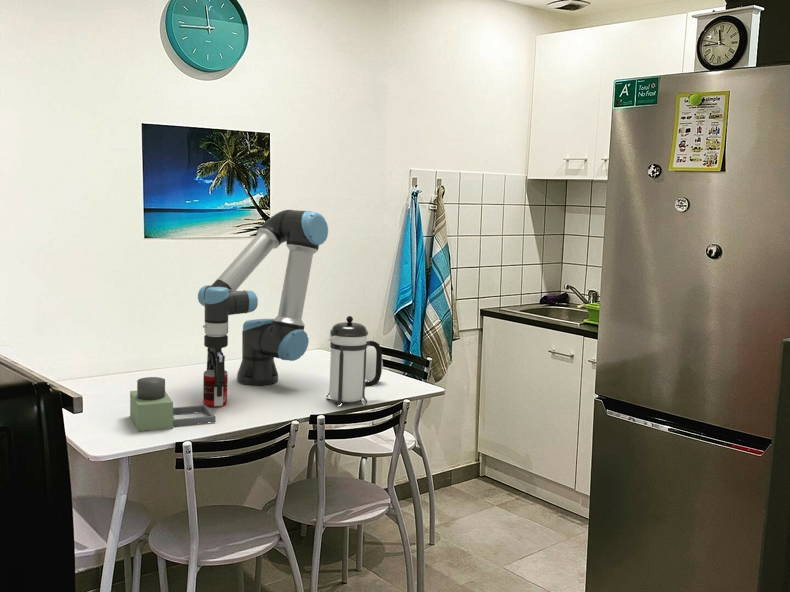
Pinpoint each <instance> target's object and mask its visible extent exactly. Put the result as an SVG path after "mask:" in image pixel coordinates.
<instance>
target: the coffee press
mask: <svg viewBox="0 0 790 592" xmlns="http://www.w3.org/2000/svg"><path fill="white" fill-rule="evenodd" d="M353 321H354V318H353V316H351V315H349V316H347V317H346V321H345V322H338V323H336V324H334V325H333V326H332V328H331V329H330V331H329V332H330V333H329V335H328V337H327V342H329V341H330V345H329V346H330V362H329V363H330V364H329V366H330V367H329V392H328V394H327V395H326V396H325V398H326V397H328V398H331V399H332V400H334V401H337V402H336V406H337V405H340V404H341V403H343V404H344V403H354V402H360V403H361V402H362V401H363V400H364V403H365V404H366V403H367V404H368V400H367V398H366V396H365V395H366V394H365V390H366V388H369V387H373V386H375V385H377V384H378V383H379V382H380V379H381V376H382V374H381V368H382V362H383V352H382V351H383V350H382V347H381V345H380V344H379V343H378V342H376V341H375V340H374V341H373V340H367V339H368V337H367V336H368V335H369V332H368V329H367V327H366V326H365V325H363V324H362V323H358V322H353ZM369 346H374V347H375V349H376V374H375V377H374V379H373V380H372V381H369V382H367V381H366V379H365V371H366V350H367V348H368V347H369ZM362 399H363V400H362Z"/></svg>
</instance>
